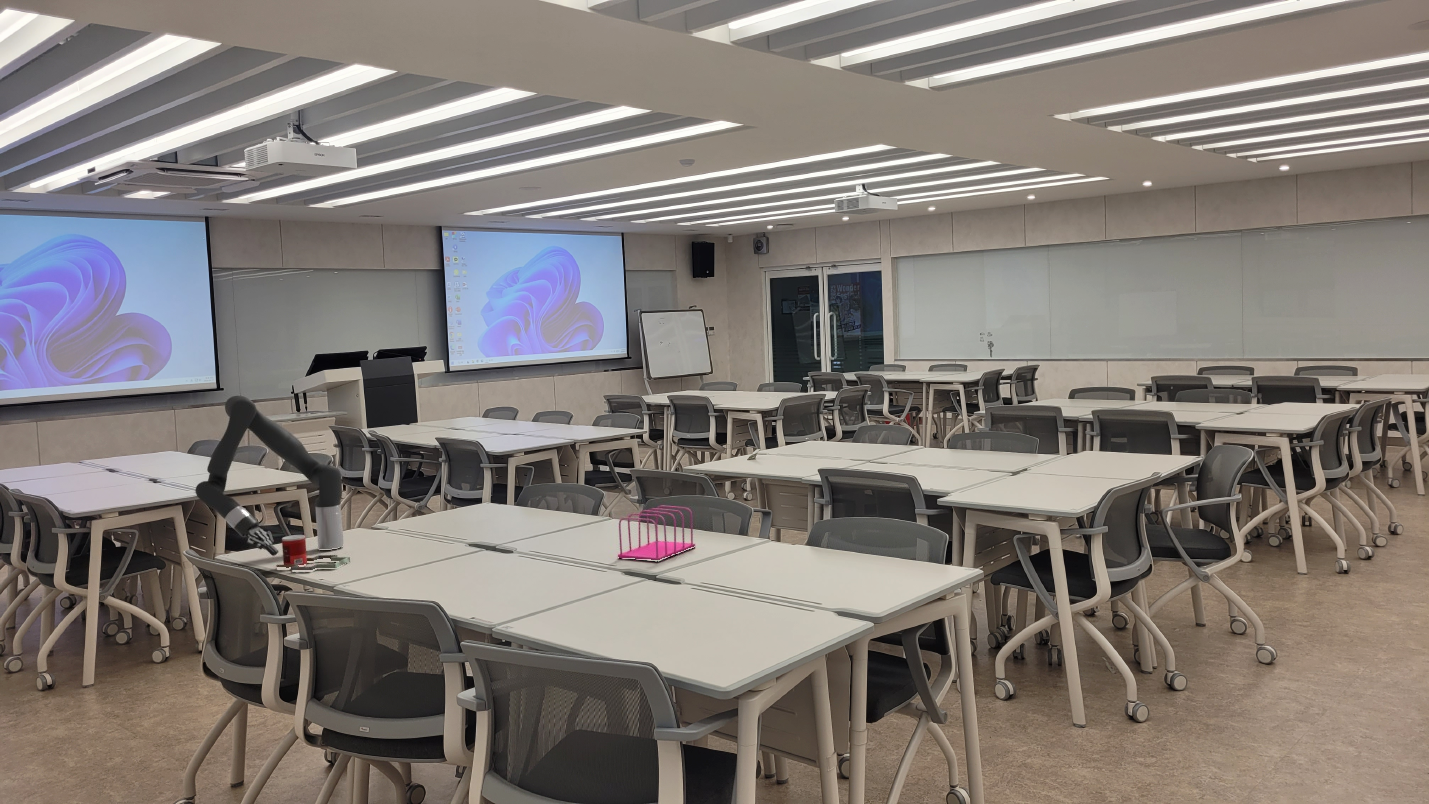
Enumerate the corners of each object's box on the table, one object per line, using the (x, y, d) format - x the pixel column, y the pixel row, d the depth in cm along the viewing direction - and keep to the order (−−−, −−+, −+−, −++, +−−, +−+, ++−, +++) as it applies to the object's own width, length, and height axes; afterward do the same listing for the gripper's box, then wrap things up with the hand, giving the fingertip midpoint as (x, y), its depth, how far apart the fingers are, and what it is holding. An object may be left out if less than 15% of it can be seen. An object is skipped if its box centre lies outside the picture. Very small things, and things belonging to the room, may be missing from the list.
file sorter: (695, 548, 358) (694, 506, 357) (658, 563, 336) (656, 518, 335) (656, 545, 367) (654, 503, 366) (617, 559, 345) (615, 515, 344)
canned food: (311, 564, 356) (309, 534, 356) (299, 569, 349) (297, 539, 348) (291, 564, 357) (289, 534, 357) (279, 569, 349) (277, 539, 349)
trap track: (298, 560, 363) (298, 555, 363) (355, 559, 360) (354, 554, 360) (270, 573, 344) (270, 567, 344) (329, 572, 342) (329, 566, 342)
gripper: (237, 517, 347) (272, 550, 346) (258, 510, 360) (292, 542, 359) (224, 532, 348) (259, 565, 347) (246, 525, 361) (279, 557, 360)
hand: (276, 553), depth 353 cm, fingers closed
